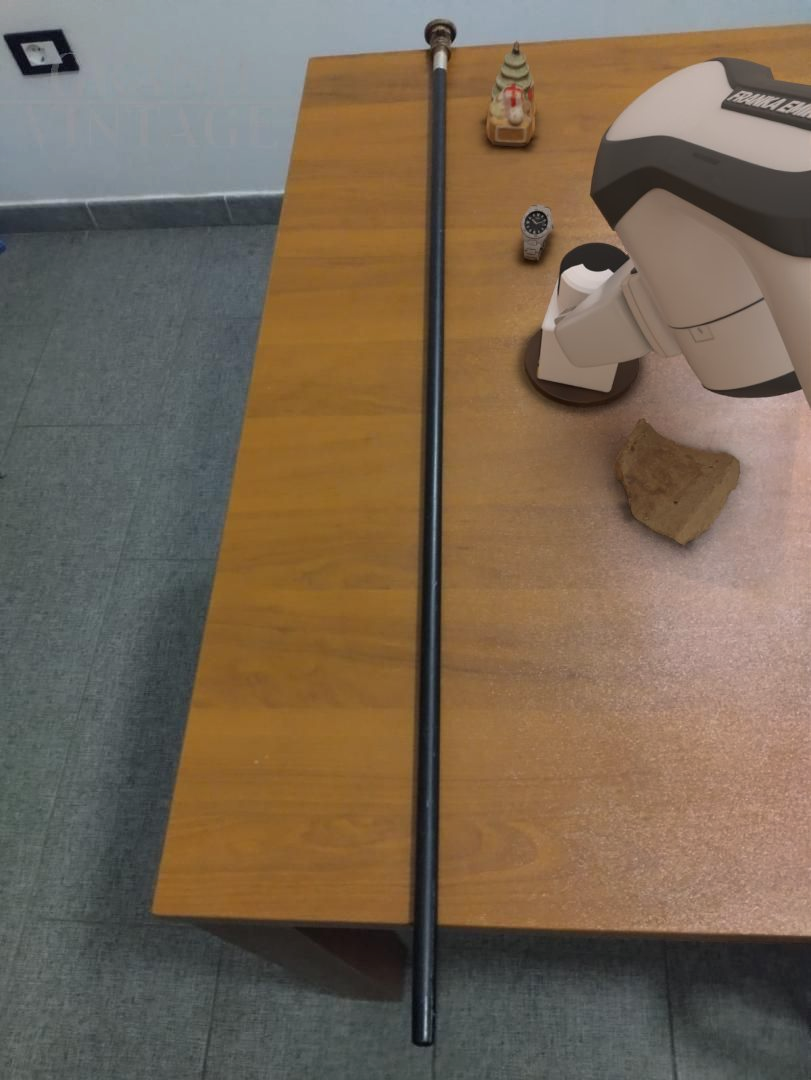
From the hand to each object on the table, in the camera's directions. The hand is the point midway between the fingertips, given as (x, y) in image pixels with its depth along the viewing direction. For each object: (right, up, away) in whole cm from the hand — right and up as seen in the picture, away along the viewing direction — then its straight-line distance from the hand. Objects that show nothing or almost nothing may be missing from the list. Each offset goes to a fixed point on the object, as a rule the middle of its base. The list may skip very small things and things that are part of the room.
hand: (597, 292), depth 65 cm
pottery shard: (+6, -17, +1) cm, 18 cm away
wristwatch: (-2, +10, +17) cm, 20 cm away
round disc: (0, -4, +8) cm, 9 cm away
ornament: (-4, +28, +26) cm, 39 cm away
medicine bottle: (0, -4, +8) cm, 9 cm away
